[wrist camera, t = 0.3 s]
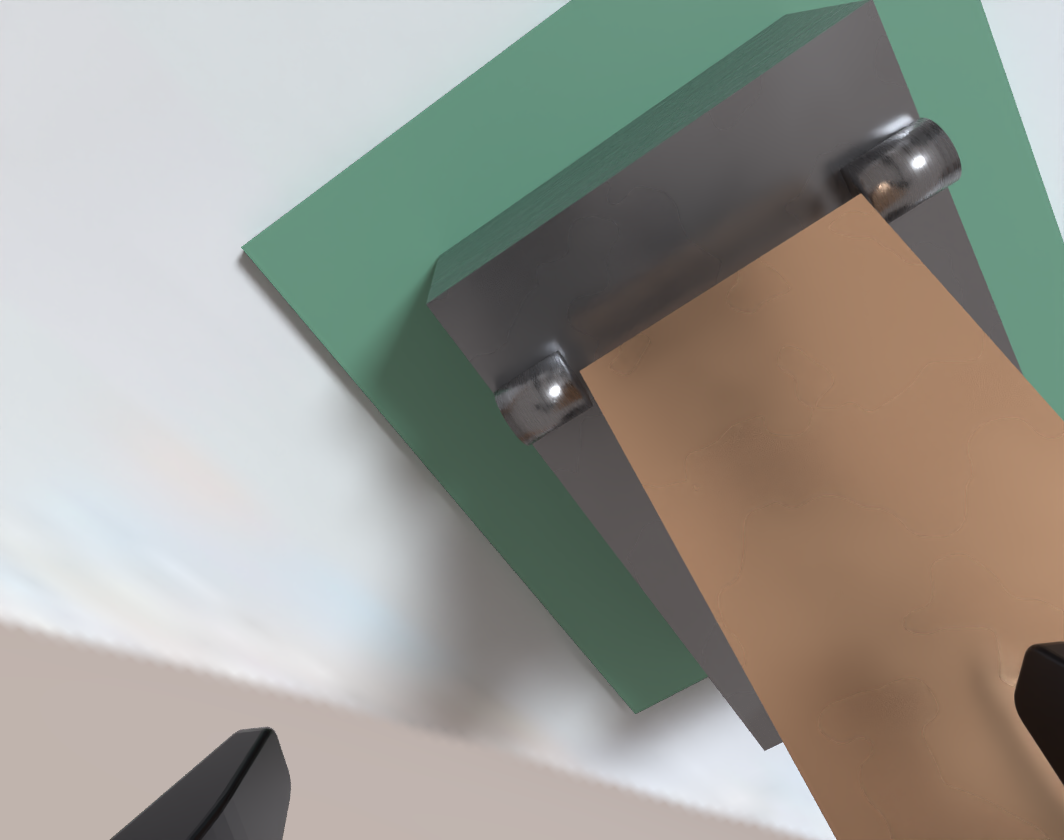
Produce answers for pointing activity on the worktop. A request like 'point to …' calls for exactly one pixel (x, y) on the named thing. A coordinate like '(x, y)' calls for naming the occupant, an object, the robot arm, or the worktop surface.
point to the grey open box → (695, 259)
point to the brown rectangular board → (861, 523)
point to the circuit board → (533, 158)
